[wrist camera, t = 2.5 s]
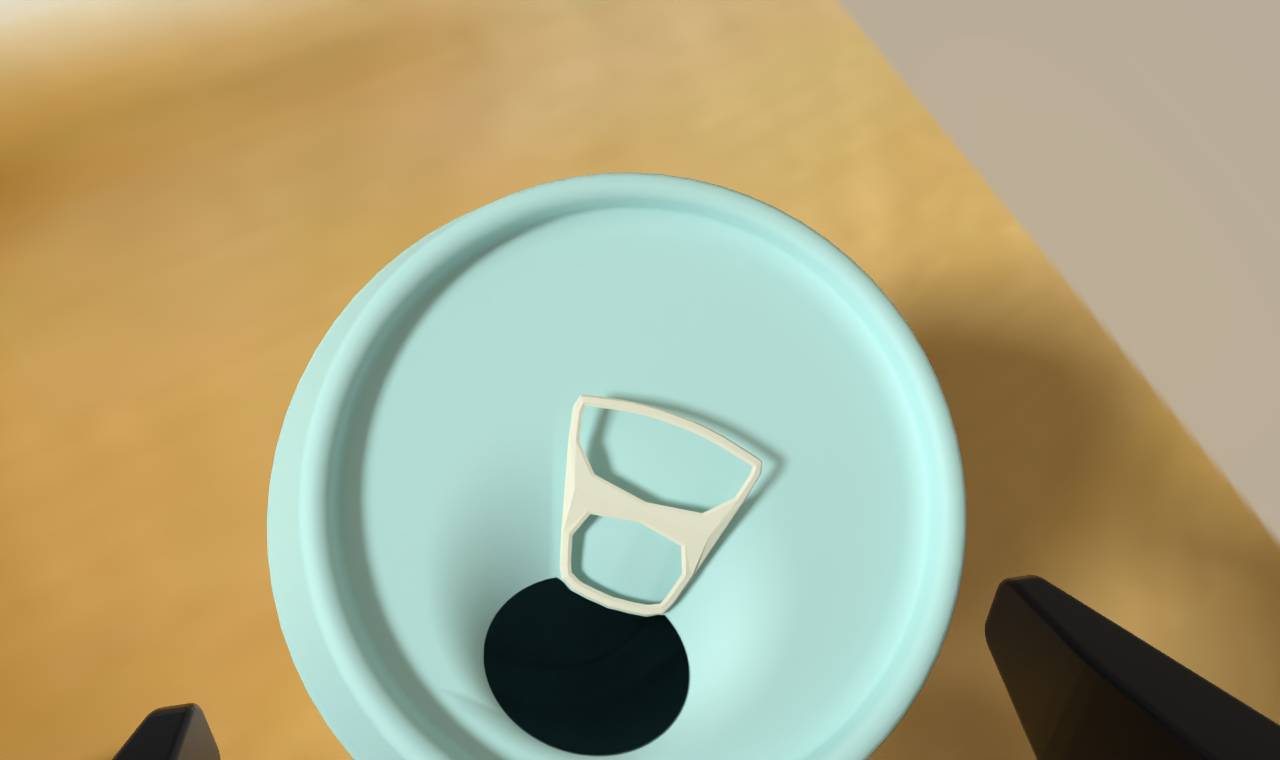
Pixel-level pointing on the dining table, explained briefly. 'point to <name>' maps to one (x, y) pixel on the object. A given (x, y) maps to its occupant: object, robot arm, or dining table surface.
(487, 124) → the dining table surface
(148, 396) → the dining table surface
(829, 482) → the can
